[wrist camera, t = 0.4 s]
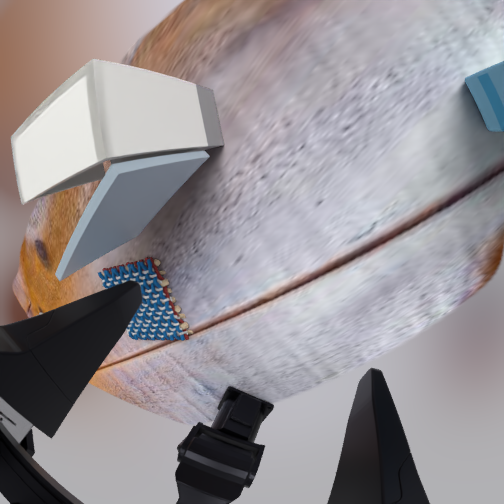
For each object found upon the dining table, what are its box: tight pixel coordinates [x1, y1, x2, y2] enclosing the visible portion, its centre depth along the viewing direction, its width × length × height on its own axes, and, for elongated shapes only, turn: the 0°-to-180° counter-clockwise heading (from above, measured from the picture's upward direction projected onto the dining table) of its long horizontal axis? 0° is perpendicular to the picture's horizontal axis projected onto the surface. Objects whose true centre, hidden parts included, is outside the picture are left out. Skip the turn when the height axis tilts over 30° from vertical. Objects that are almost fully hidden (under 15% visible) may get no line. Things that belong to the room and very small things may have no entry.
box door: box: [55, 151, 210, 281], centre depth 17 cm, size 1×10×9 cm, turn 132°
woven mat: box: [98, 257, 193, 340], centre depth 30 cm, size 10×11×2 cm
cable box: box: [11, 59, 224, 205], centre depth 16 cm, size 5×10×13 cm, turn 101°
